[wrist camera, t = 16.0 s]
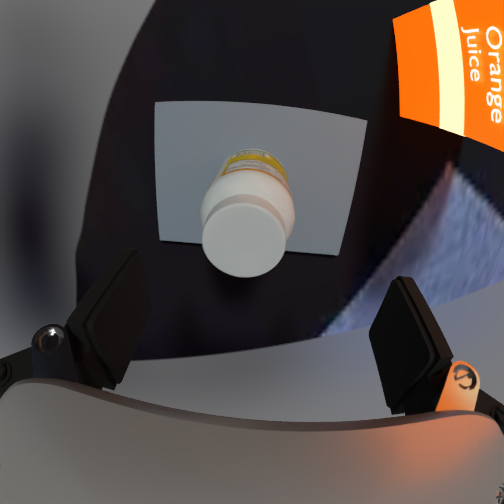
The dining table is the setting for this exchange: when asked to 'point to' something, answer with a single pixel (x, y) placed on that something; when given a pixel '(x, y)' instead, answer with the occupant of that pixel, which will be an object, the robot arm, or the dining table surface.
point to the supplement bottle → (247, 214)
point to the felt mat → (269, 140)
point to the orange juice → (454, 67)
